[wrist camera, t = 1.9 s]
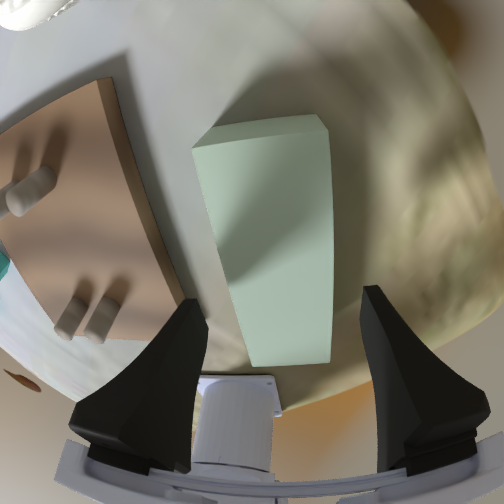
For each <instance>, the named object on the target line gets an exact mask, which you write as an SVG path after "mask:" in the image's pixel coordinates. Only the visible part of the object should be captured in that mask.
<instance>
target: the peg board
mask: <svg viewBox="0 0 504 504" xmlns="http://www.w3.org/2000/svg"><path fill="white" fill-rule="evenodd" d="M0 240H1V241H2V243H3V245H4V247H5V249H6V251H7V252H8V254H9V256H10V258H11V260H12V261H13V263H14V265H15V266H16V268H17V270H18V271H19V273H20V275H21V276H22V278H23V279H24V281H25V283H26V284H27V286H28V287H29V289H30V290H31V292H32V293H33V295H34V296H35V298H36V299H37V301H38V302H39V304H40V305H41V307H42V308H43V309H44V311H45V312H46V313H47V315H48V316H49V318H50V319H51V320H52V322H53V323H54V324H55V327H54V330H55V332H56V333H57V334H58V335H59V336H60V337H61V338H63V339H65V340H67V341H71V340H72V338H73V336H74V335H75V336H85V337H87V338H88V339H89V340H90V341H92V342H94V343H96V344H103V343H104V341H105V339H106V338H109V339H124V340H143V341H152V340H153V338H154V337H155V336H156V335H157V334H158V332H159V331H160V330H161V328H162V327H163V326H164V325H165V323H166V322H167V321H168V319H169V318H170V317H171V315H172V314H173V313H174V311H175V310H176V309H177V307H178V306H179V305H180V303H181V302H182V301H183V300H184V299H186V297H185V295H184V293H183V290H182V288H181V285H180V283H179V281H178V278H177V276H176V273H175V271H174V268H173V266H172V263H171V261H170V258H169V256H168V253H167V251H166V248H165V245H164V243H163V240H162V237H161V235H160V232H159V229H158V227H157V224H156V221H155V219H154V216H153V213H152V210H151V207H150V204H149V202H148V199H147V196H146V193H145V190H144V187H143V184H142V181H141V178H140V175H139V172H138V169H137V166H136V162H135V159H134V156H133V153H132V150H131V146H130V143H129V140H128V136H127V133H126V129H125V126H124V122H123V119H122V115H121V111H120V108H119V104H118V100H117V96H116V92H115V88H114V84H113V80H112V77H109V78H104V79H99V80H95V81H93V82H91V83H89V84H87V85H85V86H83V87H80V88H78V89H76V90H74V91H72V92H70V93H68V94H66V95H64V96H63V97H61V98H59V99H57V100H55V101H53V102H52V103H50V104H48V105H46V106H44V107H43V108H41V109H39V110H38V111H36V112H34V113H33V114H31V115H29V116H28V117H26V118H25V119H23V120H21V121H20V122H18V123H17V124H15V125H14V126H12V127H11V128H9V129H8V130H6V131H5V132H4V133H2V134H1V135H0Z"/></svg>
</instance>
